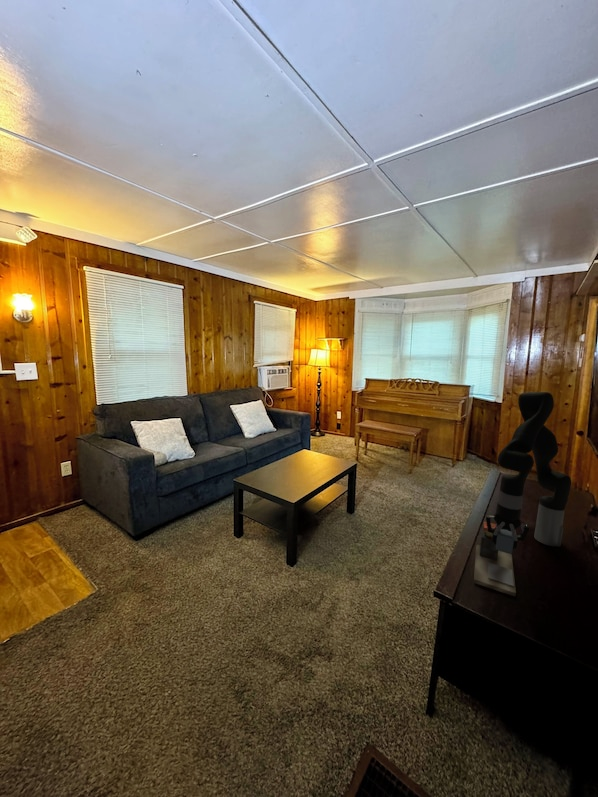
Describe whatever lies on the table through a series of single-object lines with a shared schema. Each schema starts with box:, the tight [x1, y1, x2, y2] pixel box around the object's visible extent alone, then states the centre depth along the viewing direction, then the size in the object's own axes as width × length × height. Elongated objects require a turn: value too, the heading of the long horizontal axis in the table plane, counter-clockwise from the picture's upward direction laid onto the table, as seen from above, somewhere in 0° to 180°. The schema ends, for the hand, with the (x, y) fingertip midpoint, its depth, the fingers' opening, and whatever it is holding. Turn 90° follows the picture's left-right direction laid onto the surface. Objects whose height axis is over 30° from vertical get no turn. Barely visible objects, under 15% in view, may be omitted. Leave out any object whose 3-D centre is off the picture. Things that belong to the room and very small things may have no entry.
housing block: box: [496, 529, 514, 555], centre depth 120 cm, size 5×6×6 cm
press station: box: [473, 529, 517, 598], centre depth 126 cm, size 13×25×10 cm, turn 150°
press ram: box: [482, 520, 497, 538], centre depth 133 cm, size 6×6×7 cm
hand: (503, 545), depth 120 cm, fingers closed on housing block, 5 cm apart
